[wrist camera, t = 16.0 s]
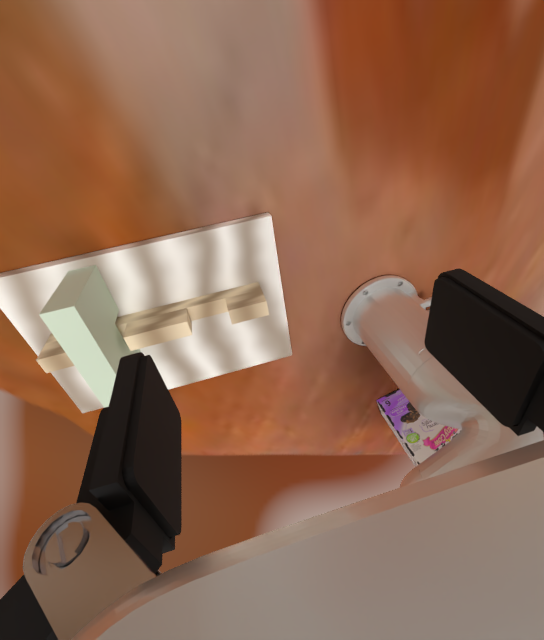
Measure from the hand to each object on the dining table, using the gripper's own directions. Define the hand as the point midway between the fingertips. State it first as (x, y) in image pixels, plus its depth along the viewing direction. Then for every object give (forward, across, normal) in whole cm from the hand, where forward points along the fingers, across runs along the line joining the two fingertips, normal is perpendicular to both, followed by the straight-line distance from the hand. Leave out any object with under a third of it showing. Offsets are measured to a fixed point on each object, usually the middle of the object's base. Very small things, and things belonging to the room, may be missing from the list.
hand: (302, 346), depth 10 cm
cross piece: (+29, +17, +14) cm, 36 cm away
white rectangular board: (+30, +11, +16) cm, 36 cm away
